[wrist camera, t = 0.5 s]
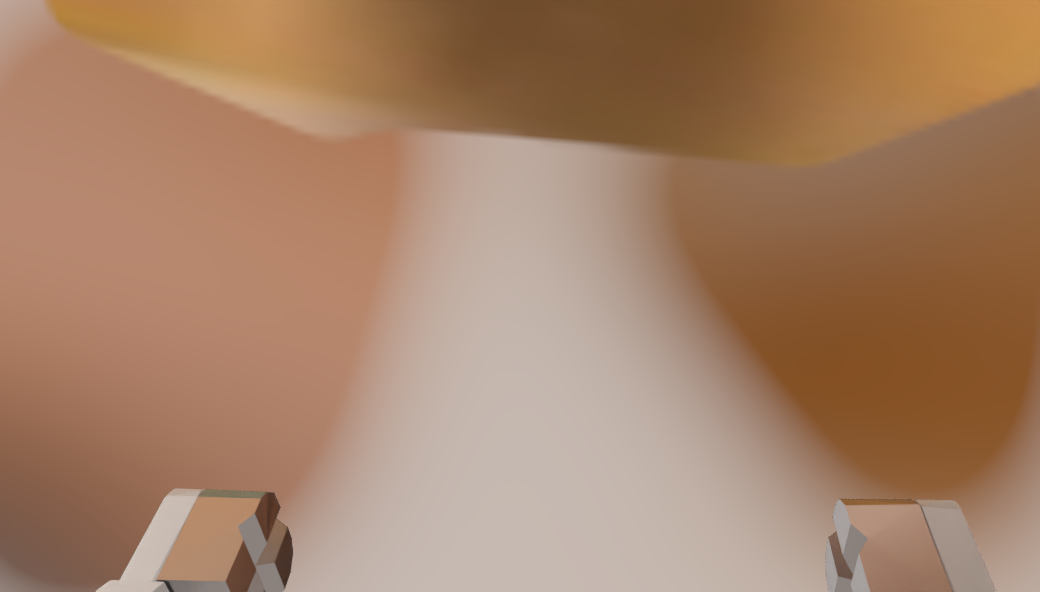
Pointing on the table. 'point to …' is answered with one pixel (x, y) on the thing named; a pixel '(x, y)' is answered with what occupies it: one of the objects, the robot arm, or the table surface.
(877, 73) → the table surface
